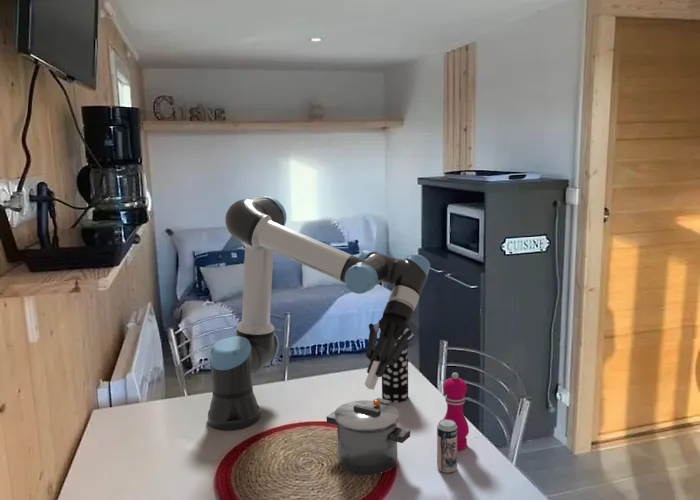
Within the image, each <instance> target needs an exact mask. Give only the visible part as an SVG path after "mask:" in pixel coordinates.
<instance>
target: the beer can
mask: <svg viewBox="0 0 700 500" xmlns="http://www.w3.org/2000/svg"><path fill="white" fill-rule="evenodd" d="M443 419H444V418H443ZM443 419H440V420H439V422H438V423H437V426H436V428H437V430H436V441H437V442H436V445H437V446H436V451H437V452H436V458H437V459H436V462H437V463H436V465H437V466H436V468H437V469H438V470H439V471H441V472H442V473H444V474H445V473H446V474H447V473H448V474H450V473H453V472H455V471H456V470H457V469H458V450H457V425H456V423H455V422H454V421H453V420H450V419H444V420H443Z"/></svg>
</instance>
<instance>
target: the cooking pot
mask: <svg viewBox="0 0 700 500" xmlns="http://www.w3.org/2000/svg"><path fill="white" fill-rule="evenodd" d="M335 411H336V410H334V411H332V412H331V413H330V414H328V415H327V416H326V417H325V418H326V423H328V424H332V425H335V426H336V431H337V432H336V433H337V462H339V463H338V465H339V467H341V469H342V470H344V471H346V472H347V473H350V474H353V475H357V476H364V475H372V476H376V475H375V474H379V473H381V472H382V473H383V472H385V471H387V470H389V469H391V468H393V467H394V466H395V465H397V463H398V443H400V444H403V443H404V442H406V441H407V440H408V439H409V438H410V437H411V430H410V429H407V428H403V427H399V426H398V423H397V424H395V425H394V426H392V427H390V428H387V429H384V430H379V431H357V430H352V429H348V428H345V427H343V426H341V425H340V424H338V423H337V422H336V420H335ZM395 467H396V466H395ZM395 467H394V468H395ZM394 468H393V469H394ZM391 470H392V469H391ZM385 473H386V472H385ZM383 474H384V473H383ZM379 475H380V474H379Z"/></svg>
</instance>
